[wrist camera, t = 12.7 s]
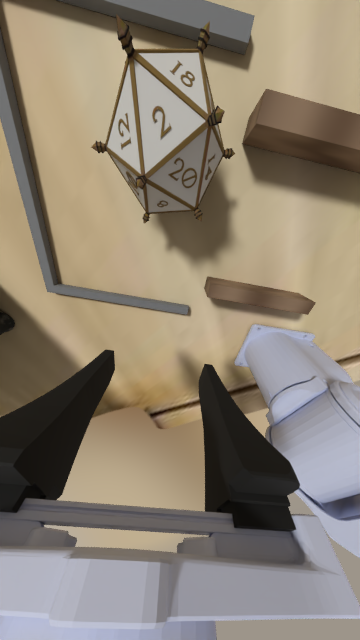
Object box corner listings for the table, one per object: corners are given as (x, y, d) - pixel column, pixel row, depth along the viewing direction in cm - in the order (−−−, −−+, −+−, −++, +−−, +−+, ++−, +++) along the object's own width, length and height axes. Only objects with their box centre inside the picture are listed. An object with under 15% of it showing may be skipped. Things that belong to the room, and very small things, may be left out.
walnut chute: (382, 152, 13) (429, 134, 11) (292, 303, 21) (307, 314, 18) (249, 117, 13) (266, 88, 10) (204, 288, 20) (207, 296, 17)
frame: (250, 29, 11) (254, 15, 10) (187, 312, 22) (187, 314, 21) (-36, -57, 9) (-54, -80, 9) (51, 289, 20) (47, 291, 20)
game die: (190, 170, 17) (289, 126, 10) (155, 243, 18) (224, 250, 11) (109, 49, 11) (224, -300, 4) (63, 171, 12) (85, 78, 5)
